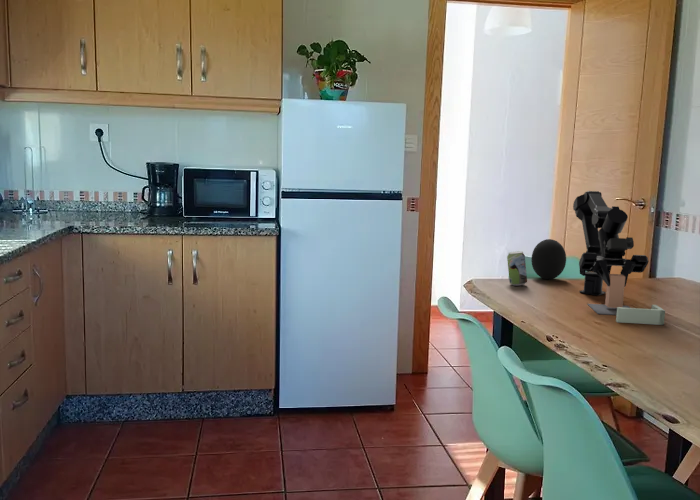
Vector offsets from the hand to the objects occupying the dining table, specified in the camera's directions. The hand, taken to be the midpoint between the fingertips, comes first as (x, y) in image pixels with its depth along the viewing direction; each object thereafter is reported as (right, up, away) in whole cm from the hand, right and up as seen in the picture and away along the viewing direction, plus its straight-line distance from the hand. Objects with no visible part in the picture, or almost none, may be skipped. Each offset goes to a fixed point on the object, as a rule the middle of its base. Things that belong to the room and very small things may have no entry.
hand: (617, 285), depth 181 cm
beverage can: (-20, -2, +36) cm, 42 cm away
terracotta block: (0, -6, +2) cm, 7 cm away
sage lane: (+2, -9, -9) cm, 13 cm away
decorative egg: (-5, 0, +49) cm, 50 cm away
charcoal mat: (0, -7, +2) cm, 8 cm away
